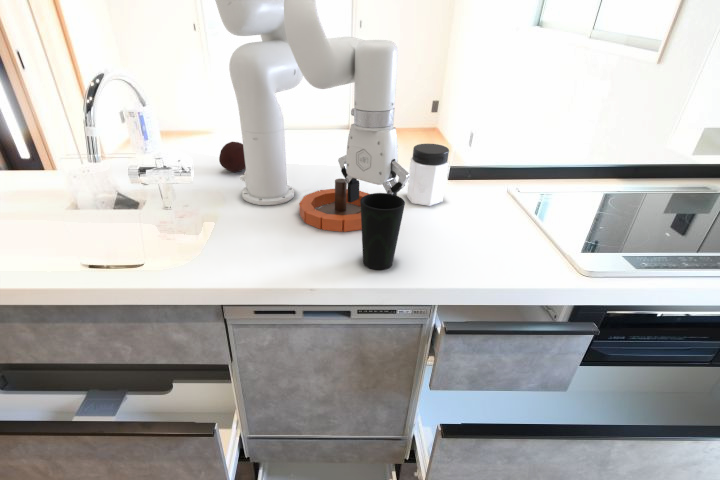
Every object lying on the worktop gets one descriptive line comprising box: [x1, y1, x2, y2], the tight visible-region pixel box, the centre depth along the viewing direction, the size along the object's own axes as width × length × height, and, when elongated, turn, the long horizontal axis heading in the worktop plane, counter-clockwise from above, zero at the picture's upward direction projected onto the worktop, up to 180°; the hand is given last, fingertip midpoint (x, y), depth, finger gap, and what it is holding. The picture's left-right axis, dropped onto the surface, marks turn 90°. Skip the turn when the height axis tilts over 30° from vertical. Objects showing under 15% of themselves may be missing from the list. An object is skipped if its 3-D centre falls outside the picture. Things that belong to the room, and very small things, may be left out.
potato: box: [218, 141, 246, 173], centre depth 121 cm, size 8×9×8 cm
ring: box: [298, 188, 369, 233], centre depth 100 cm, size 18×18×3 cm
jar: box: [406, 143, 450, 207], centre depth 105 cm, size 9×8×12 cm
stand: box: [315, 178, 361, 215], centre depth 99 cm, size 8×8×8 cm
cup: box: [360, 192, 406, 271], centre depth 80 cm, size 8×8×12 cm
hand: (370, 206), depth 94 cm, fingers open, 9 cm apart
